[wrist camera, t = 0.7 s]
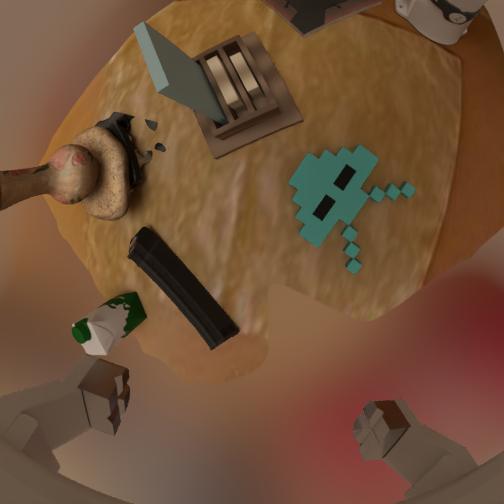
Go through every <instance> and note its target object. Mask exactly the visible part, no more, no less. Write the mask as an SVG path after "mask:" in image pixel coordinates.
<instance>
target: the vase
mask: <svg viewBox="0 0 504 504" xmlns="http://www.w3.org/2000/svg"><path fill="white" fill-rule="evenodd" d="M133 118H134V116H130V115H126V114H122V113H117V112H113V113H112V115H111V116H110V118H108V119H106V120H103V121H99V122H98V123H97V124H96V125H95V126H94V127H91V128H89V129H87V130H85V131H84V132H82V133H80V134H79V135H78V136H77V137H76V138H75V139H74V140H73V142H72V144H69V145H65V146H63V147H61V148H59V149H58V150H57V151H56V152H55V153H54V154H53V155H52V156H51V157H50V159H49V161H48V162H47V163H46V164H45V165H42V166H39V167H34V168H28V169H19V170H10V171H8V170H7V171H0V211H1V210H4V209H6V208H8V207H10V206H12V205H13V204H16V203H18V202H20V201H23V200H25V199H28V198H30V197H33V196H37V195H41V194H50V195H51V196H52V197H53V198H54V199H56V200H57V201H59V202H60V203H63V204H75V203H78V202H80V201H81V202H82V204H83V207H84V208H85V210H86V211H87V213H88V214H90V215H91V216H93V217H95V218H98V219H101V220H107V221H113V220H118V219H120V218H121V217H123V216H124V215H125V214H126V212H127V210H128V207H129V202H130V193H131V192H134V189H133V188H134V187H136V186H137V185H139V184H140V183H141V182H142V172H141V170H140V168H141V167H142V165H143V164H145V163H147V162H149V161H150V160H151V159H152V151H147V155H146V156H144V157H142V156H141V155H140V154H138V153H137V150H138V149H134V147H133V145H132V138H131V136H129V135H128V134H127V133H126V132H127V131H129V130H130V121H131V119H133ZM145 121H146V123H147V125H148V126H149V128H150V129H152V130H153V131H155V130H156V128H157V125H158V123H157V122H153V121H150V120H146V119H145ZM125 122H126V123H128V124H129V126H128V128H127V129H125V128H126V123H125ZM155 149H156V150H160V151H162V152H165V151H166V148H165V147H164V146H163V145H162V144H161V143H157V144H156V145H155ZM131 186H132V187H131ZM130 187H131V188H130Z"/></svg>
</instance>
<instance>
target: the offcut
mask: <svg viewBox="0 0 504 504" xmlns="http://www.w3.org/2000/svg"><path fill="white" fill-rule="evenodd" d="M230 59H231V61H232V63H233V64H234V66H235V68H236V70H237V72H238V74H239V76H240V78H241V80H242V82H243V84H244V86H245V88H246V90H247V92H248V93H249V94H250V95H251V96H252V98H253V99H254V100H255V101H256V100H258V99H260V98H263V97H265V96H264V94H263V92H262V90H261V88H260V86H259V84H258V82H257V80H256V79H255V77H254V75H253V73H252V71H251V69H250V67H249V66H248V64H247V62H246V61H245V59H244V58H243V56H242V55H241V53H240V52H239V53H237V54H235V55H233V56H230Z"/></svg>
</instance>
